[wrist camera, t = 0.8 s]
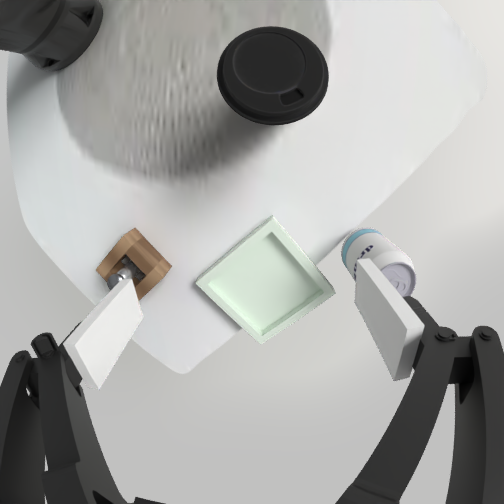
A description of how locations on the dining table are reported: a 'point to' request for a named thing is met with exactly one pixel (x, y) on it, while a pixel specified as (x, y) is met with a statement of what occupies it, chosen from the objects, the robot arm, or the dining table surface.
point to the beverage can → (379, 258)
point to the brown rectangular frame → (136, 261)
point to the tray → (266, 282)
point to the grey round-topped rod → (123, 274)
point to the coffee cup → (272, 75)
